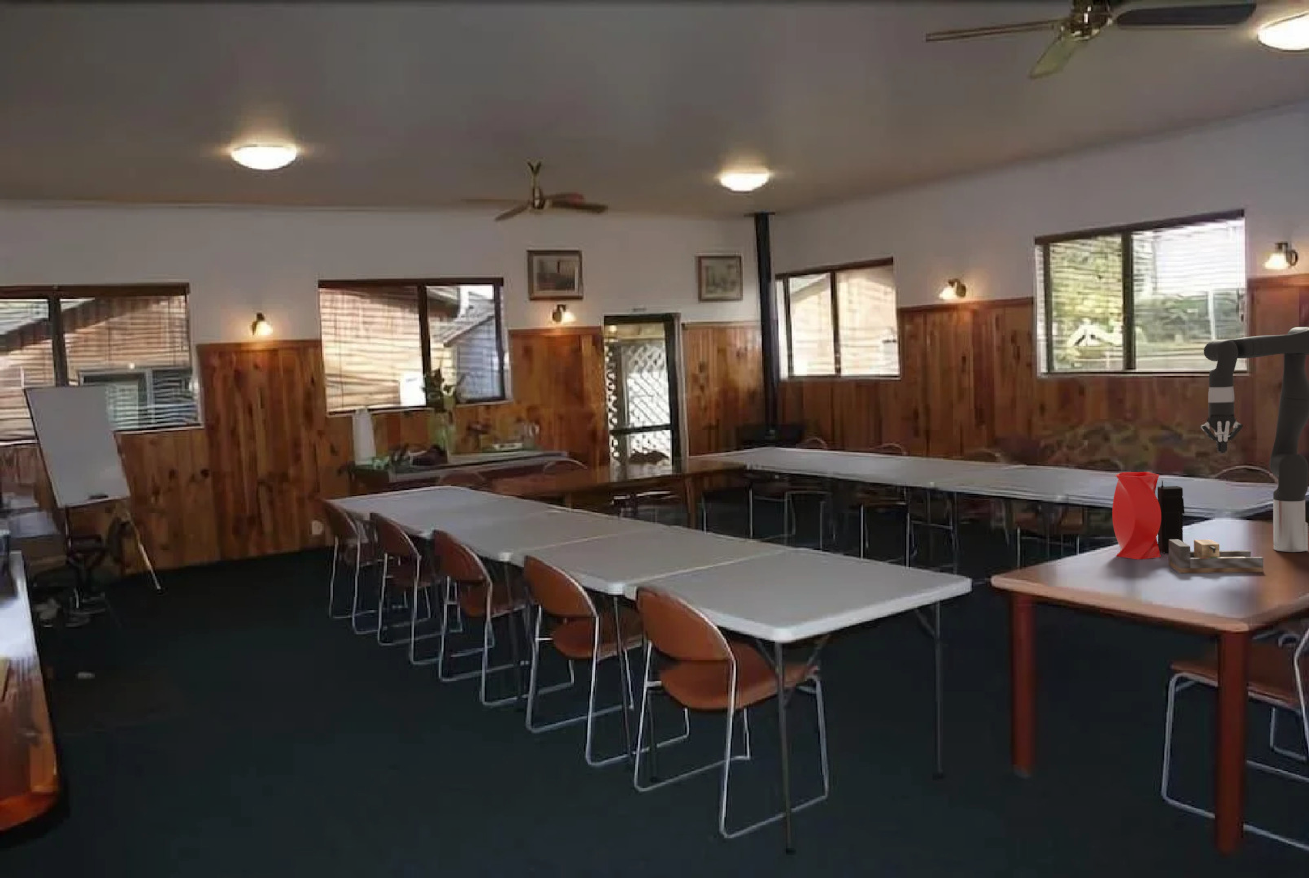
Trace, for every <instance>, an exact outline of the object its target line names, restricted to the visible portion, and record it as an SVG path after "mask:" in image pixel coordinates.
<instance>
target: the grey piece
mask: <svg viewBox="0 0 1309 878" xmlns="http://www.w3.org/2000/svg"><path fill="white" fill-rule="evenodd" d="M1251 553H1252V552H1251V550H1246V549H1245V550H1241V549H1240V550H1219V557H1199V558H1194V550H1191V545H1188V544H1187V543H1186V542H1184V541H1183V542H1182V541H1181V540H1179V539H1169V553H1168V566H1169V567H1171V568H1172V569H1174V570H1175V571H1176V572H1178V573H1180V574H1199V573H1200V574H1201V573H1204V574H1207V573H1208V574H1209V573H1210V574H1211V573H1213V574H1214V573H1218V574H1219V573H1222V574H1223V573H1264V557H1263V556H1252V555H1251Z"/></svg>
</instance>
